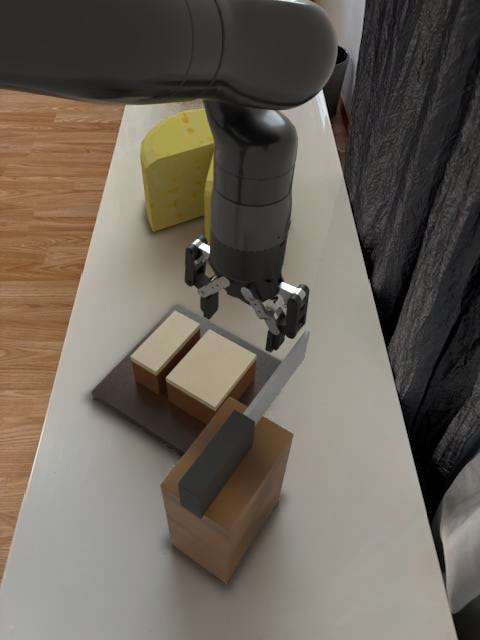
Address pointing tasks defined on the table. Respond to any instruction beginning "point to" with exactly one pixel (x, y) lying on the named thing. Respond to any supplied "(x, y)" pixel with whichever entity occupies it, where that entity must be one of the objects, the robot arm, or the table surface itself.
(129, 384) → the board
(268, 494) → the stand
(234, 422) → the knife
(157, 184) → the cheese
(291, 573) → the table surface
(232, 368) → the cream-faced brown block
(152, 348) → the slice
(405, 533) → the table surface
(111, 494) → the table surface
